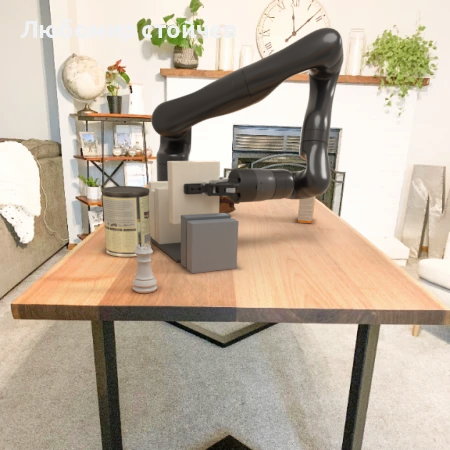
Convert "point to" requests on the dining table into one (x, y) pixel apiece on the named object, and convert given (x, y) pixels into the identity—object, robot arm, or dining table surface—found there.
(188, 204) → the white book
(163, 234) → the white books
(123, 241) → the coffee can
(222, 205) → the wooden carving
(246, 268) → the dining table surface
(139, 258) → the rook chess piece
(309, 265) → the dining table surface
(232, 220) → the grey books
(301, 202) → the supplement box
